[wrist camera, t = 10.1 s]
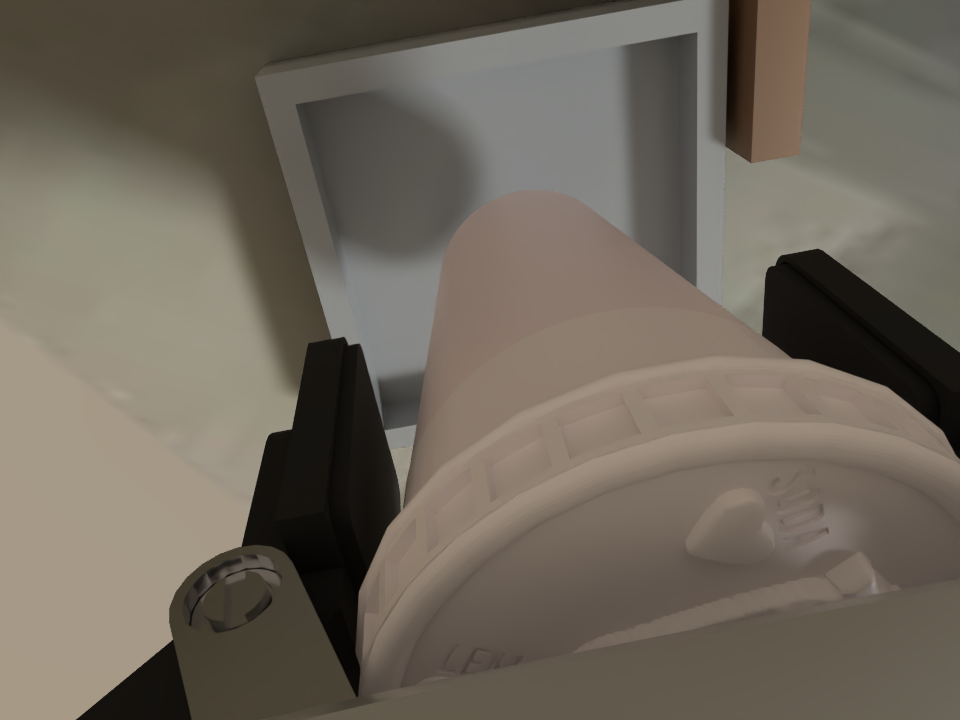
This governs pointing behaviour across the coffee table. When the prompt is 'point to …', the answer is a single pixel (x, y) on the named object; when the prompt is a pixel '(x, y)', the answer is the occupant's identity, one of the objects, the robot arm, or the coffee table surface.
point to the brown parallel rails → (766, 77)
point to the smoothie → (629, 463)
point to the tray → (496, 156)
